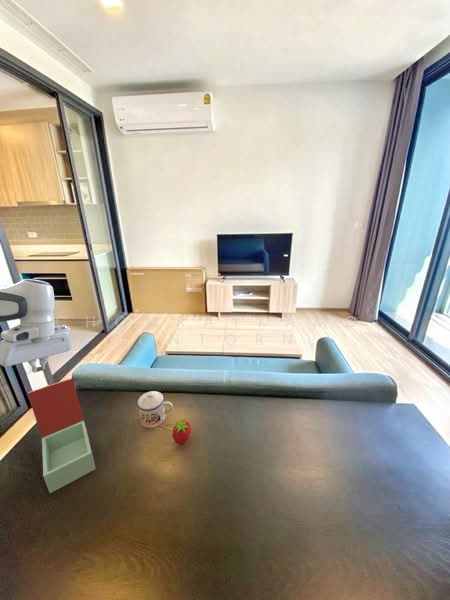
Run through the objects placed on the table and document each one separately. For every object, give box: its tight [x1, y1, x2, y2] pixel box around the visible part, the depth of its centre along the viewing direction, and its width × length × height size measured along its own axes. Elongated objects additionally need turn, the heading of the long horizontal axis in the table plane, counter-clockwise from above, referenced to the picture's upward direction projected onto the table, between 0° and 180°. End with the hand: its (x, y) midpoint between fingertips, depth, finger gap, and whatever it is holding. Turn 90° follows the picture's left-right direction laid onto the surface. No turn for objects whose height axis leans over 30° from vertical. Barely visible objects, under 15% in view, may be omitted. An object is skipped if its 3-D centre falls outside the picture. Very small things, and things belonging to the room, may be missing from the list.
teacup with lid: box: [137, 390, 173, 429], centre depth 90 cm, size 12×9×12 cm
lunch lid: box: [27, 377, 84, 438], centre depth 79 cm, size 15×12×1 cm
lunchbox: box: [41, 420, 96, 494], centre depth 76 cm, size 15×12×7 cm
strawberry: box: [172, 419, 192, 446], centre depth 81 cm, size 6×8×10 cm
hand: (38, 370), depth 82 cm, fingers closed
